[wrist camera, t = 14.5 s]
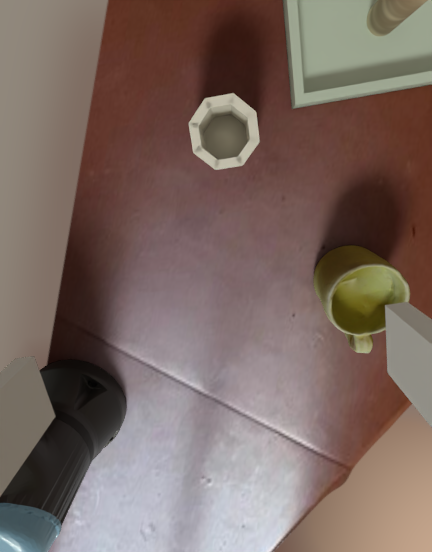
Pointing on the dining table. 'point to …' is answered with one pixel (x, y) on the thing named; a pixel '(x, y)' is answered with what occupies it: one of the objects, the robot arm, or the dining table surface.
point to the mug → (358, 292)
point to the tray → (352, 51)
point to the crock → (224, 131)
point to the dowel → (390, 14)
